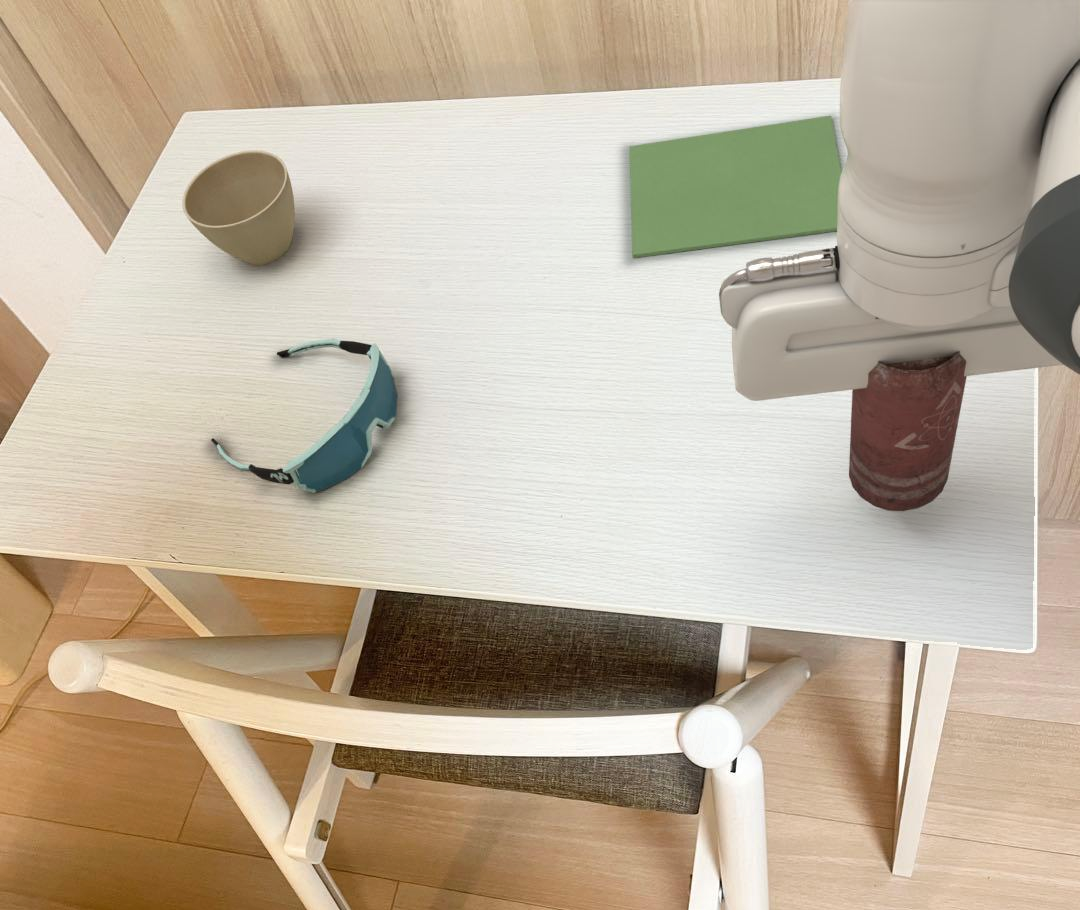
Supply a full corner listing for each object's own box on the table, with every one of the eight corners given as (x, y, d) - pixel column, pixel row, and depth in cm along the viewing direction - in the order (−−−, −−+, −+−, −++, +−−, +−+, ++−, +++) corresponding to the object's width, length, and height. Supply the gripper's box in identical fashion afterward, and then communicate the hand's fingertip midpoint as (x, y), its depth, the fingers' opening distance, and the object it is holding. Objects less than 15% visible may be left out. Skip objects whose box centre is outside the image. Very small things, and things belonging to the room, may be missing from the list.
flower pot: (236, 301, 95) (199, 243, 89) (206, 241, 101) (169, 183, 95) (331, 251, 96) (301, 190, 90) (297, 195, 102) (266, 134, 96)
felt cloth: (830, 119, 92) (831, 115, 91) (851, 229, 85) (851, 225, 84) (630, 149, 95) (629, 146, 95) (633, 258, 88) (632, 254, 88)
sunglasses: (340, 515, 80) (309, 477, 76) (212, 475, 87) (178, 438, 84) (431, 379, 85) (406, 337, 81) (303, 353, 93) (274, 313, 89)
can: (949, 437, 68) (975, 286, 56) (944, 519, 65) (972, 376, 53) (853, 433, 70) (860, 285, 58) (844, 512, 67) (850, 372, 55)
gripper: (719, 313, 51) (737, 472, 62) (1176, 251, 47) (1105, 434, 58) (712, 225, 54) (730, 391, 66) (1138, 159, 50) (1078, 349, 61)
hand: (909, 411), depth 62 cm, fingers closed, pressing on can
